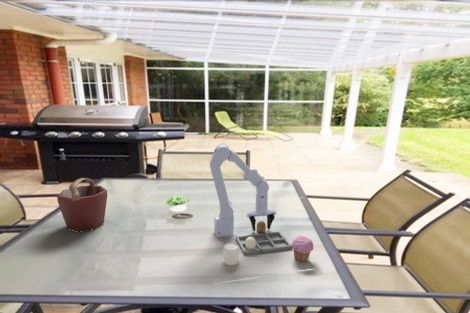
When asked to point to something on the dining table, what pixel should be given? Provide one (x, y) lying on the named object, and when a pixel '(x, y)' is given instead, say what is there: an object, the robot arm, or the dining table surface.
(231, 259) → the white textured cylinder
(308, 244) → the cupcake
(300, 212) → the dining table surface
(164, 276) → the dining table surface
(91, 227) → the bucket
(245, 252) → the egg tray
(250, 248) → the cream egg
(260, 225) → the brown egg
